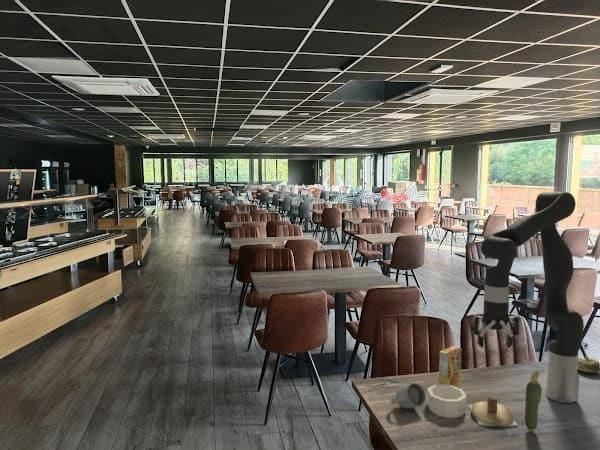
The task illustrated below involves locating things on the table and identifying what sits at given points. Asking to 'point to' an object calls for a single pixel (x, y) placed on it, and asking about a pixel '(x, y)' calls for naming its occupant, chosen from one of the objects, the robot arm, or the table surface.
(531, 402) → the vegetable
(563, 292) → the robot arm
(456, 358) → the candy box
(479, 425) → the mat
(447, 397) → the bowl
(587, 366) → the cake
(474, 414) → the lid
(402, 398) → the ceramic mug
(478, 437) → the table surface
